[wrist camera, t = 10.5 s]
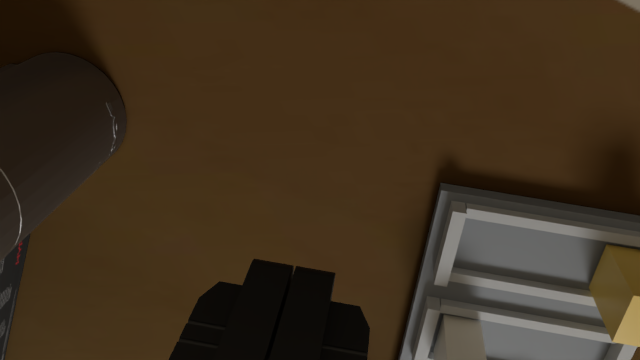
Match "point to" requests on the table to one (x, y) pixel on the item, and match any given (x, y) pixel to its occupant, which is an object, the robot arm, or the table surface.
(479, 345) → the slider cream
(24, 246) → the headset box
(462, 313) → the grey tray
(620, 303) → the slider ochre
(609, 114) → the table surface
